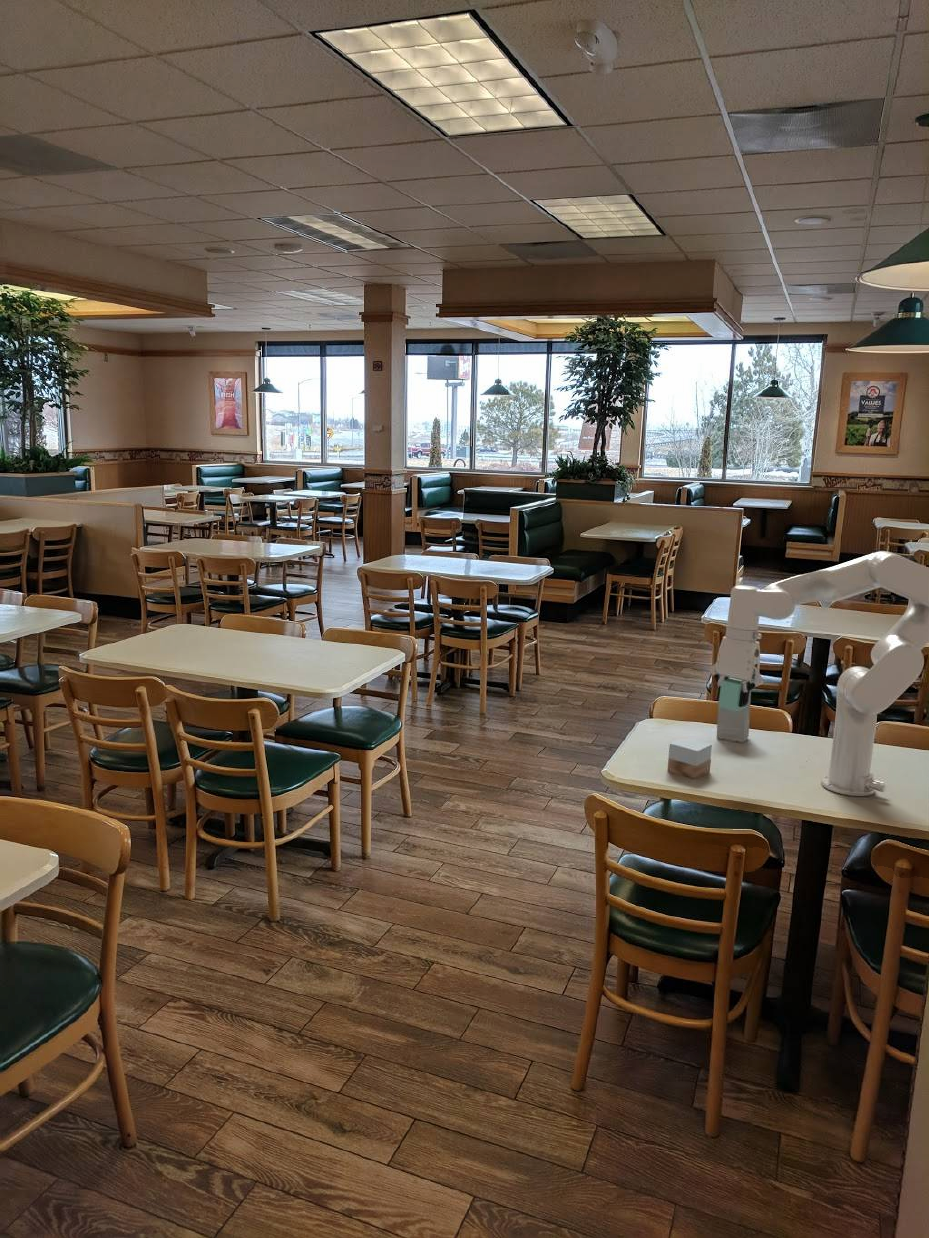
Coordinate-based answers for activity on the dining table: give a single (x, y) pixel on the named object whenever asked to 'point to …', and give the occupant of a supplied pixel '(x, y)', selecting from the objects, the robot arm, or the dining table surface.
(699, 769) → the tower base
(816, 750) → the dining table surface
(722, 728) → the skincare box
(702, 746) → the tower top
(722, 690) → the block
